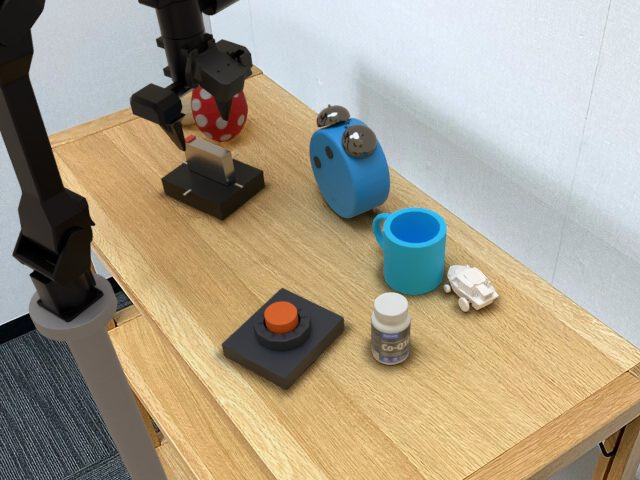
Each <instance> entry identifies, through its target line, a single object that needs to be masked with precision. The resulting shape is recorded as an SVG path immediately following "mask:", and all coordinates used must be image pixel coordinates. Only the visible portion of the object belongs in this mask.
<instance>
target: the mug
mask: <svg viewBox="0 0 640 480" xmlns="http://www.w3.org/2000/svg"><path fill="white" fill-rule="evenodd" d="M383 220H384V222H383V227H382V226H381V225H382V221H383ZM371 226H372V232H373V235H374V238H375V241H376V242H377V244H378V245H379V247H380V249H381V250H382V251H383V278H384V281H385V283H386V284H387V286H389V287H390V288H391V289H392V290H394V291H396V292H397V293H399V294H405V295H412V296H416V295H417V296H418V295H423V294H428V293H430V292H432V291H434V290H435V289H437V288H438V287H439V286H440V285H441V284H442V282H443V279H444V272H445V258H446V246H447V245H446V244H447V231H448V229H447V228H448V227H447V226H448V225H447V222H446V220H445V219H444V217H443V216H441V215H440V214H439V213H438V212H437V211H433V210H432V209H429V208H425V207H421V206H420V207H419V206H418V207H417V206H416V207H414V206H411V207H405V208H401V209H398V210H396V211H394V212H392V213H390V212H383V213H378V214H377V215H375V217H374V218H373V221H372V225H371ZM382 229H383V231H382Z"/></svg>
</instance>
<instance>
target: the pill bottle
mask: <svg viewBox="0 0 640 480" xmlns="http://www.w3.org/2000/svg"><path fill="white" fill-rule="evenodd" d="M411 324H412V316H411V313H410V311H409V301H408V299H407V298H406V297H405V296H404V295H402V293H399V292H394V291H393V292H390V291H389V292H384V293H382V294H380V295H378V296H377V297H376V298H375V300H374V302H373V311H372V313H371V316H370V339H371V340H370V345H371V347H370V349H371V354H372V356H373V358H374V359H375V360H376V361H377V362H379V363H381V364H383V365H388V366H392V365H397V364H401V363H403V362H404V361H406V359H407V358H408V357H409V354H410V350H411V349H410V346H411V326H412V325H411Z"/></svg>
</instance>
